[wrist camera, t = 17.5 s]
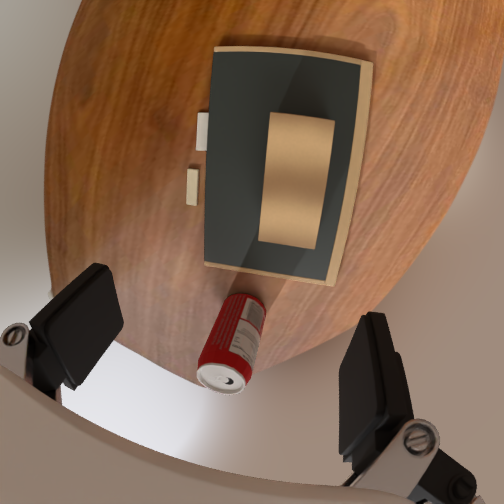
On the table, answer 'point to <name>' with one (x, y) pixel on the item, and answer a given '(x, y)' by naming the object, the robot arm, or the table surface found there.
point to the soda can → (232, 345)
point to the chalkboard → (255, 146)
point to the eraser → (295, 179)
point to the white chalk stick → (202, 131)
